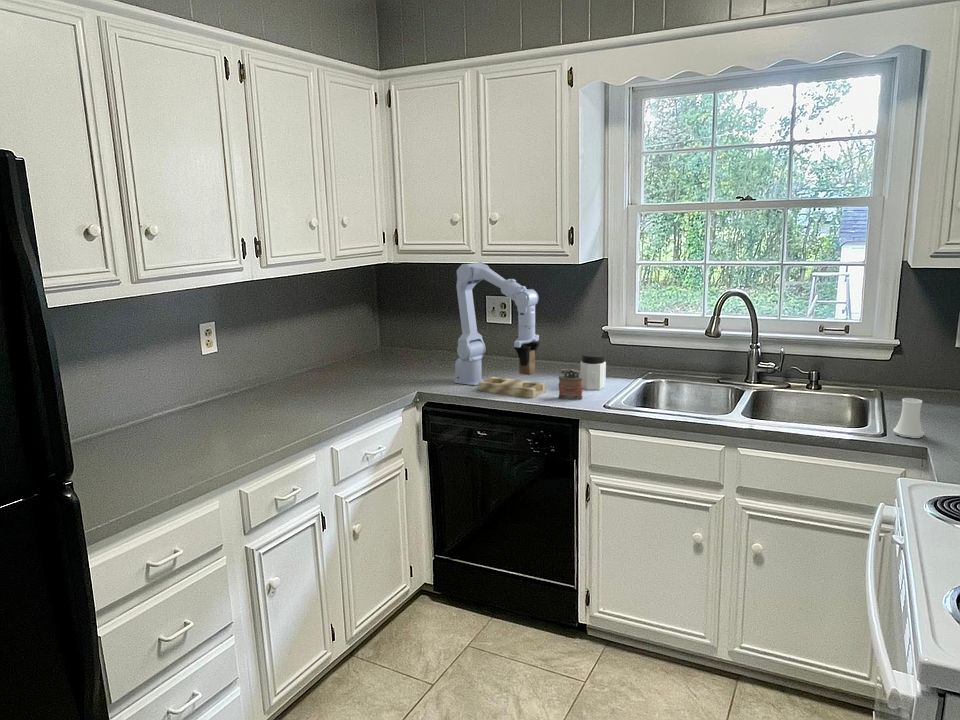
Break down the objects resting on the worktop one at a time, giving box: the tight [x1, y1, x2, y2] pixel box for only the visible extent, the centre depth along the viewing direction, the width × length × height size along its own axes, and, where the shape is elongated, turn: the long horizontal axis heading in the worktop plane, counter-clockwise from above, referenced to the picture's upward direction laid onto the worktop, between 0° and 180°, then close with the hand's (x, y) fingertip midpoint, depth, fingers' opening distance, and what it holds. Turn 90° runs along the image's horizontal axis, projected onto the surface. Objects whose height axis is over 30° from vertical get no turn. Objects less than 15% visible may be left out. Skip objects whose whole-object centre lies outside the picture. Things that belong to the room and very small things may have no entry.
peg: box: [518, 350, 536, 376], centre depth 253 cm, size 4×4×8 cm
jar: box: [579, 351, 607, 391], centre depth 261 cm, size 9×8×12 cm
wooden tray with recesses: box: [478, 376, 546, 399], centre depth 258 cm, size 22×10×3 cm, turn 59°
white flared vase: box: [892, 397, 925, 436], centre depth 204 cm, size 8×8×10 cm
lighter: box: [558, 368, 583, 401], centre depth 247 cm, size 8×3×10 cm, turn 74°
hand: (526, 364), depth 253 cm, fingers closed on peg, 4 cm apart
